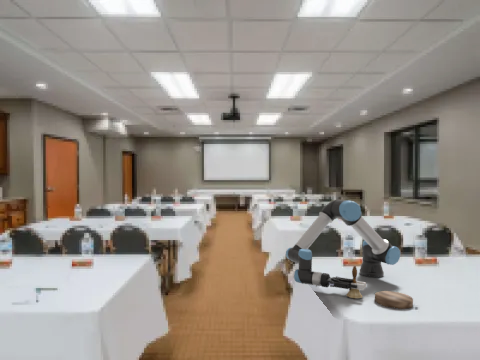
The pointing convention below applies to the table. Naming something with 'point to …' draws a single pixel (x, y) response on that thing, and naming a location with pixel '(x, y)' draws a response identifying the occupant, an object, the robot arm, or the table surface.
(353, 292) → the hand bell
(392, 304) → the walnut stand
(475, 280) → the table surface
